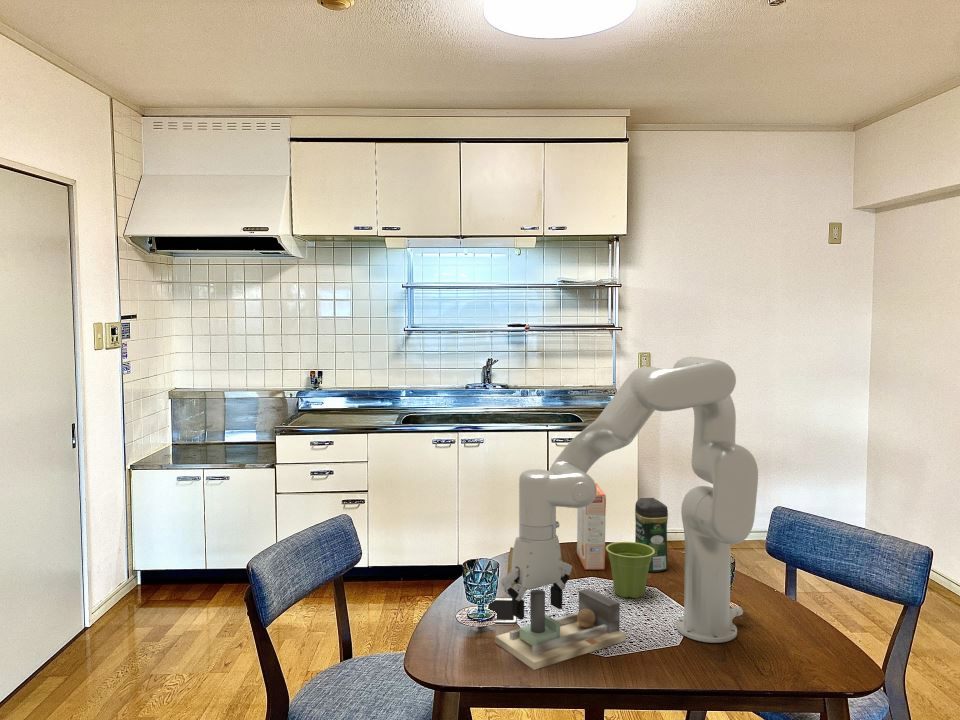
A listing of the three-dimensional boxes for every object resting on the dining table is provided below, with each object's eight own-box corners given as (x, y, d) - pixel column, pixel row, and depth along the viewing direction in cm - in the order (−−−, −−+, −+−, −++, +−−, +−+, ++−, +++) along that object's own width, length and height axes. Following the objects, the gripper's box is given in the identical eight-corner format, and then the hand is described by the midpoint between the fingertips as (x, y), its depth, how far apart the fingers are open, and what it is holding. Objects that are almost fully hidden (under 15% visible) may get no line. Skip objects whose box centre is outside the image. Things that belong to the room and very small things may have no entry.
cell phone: (518, 601, 180) (518, 597, 180) (516, 627, 165) (516, 622, 165) (486, 600, 180) (486, 596, 180) (482, 626, 166) (482, 622, 166)
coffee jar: (631, 561, 207) (631, 496, 205) (658, 560, 207) (659, 495, 206) (642, 573, 197) (643, 505, 196) (671, 572, 198) (672, 504, 197)
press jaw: (542, 631, 158) (542, 584, 157) (560, 641, 153) (560, 593, 152) (519, 637, 155) (519, 590, 154) (536, 648, 150) (536, 599, 149)
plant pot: (645, 606, 175) (645, 559, 175) (598, 596, 181) (598, 551, 181) (660, 590, 185) (661, 546, 185) (616, 581, 192) (616, 538, 191)
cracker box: (606, 570, 200) (606, 494, 198) (584, 570, 200) (584, 494, 198) (597, 553, 214) (597, 481, 212) (576, 553, 214) (576, 482, 212)
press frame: (583, 617, 169) (583, 585, 169) (625, 640, 157) (626, 606, 157) (495, 643, 157) (494, 608, 156) (534, 670, 145) (534, 632, 144)
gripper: (559, 519, 160) (559, 597, 161) (492, 533, 151) (492, 615, 152) (582, 528, 153) (581, 609, 155) (513, 542, 144) (513, 628, 146)
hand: (537, 611), depth 153 cm, fingers open, 9 cm apart
